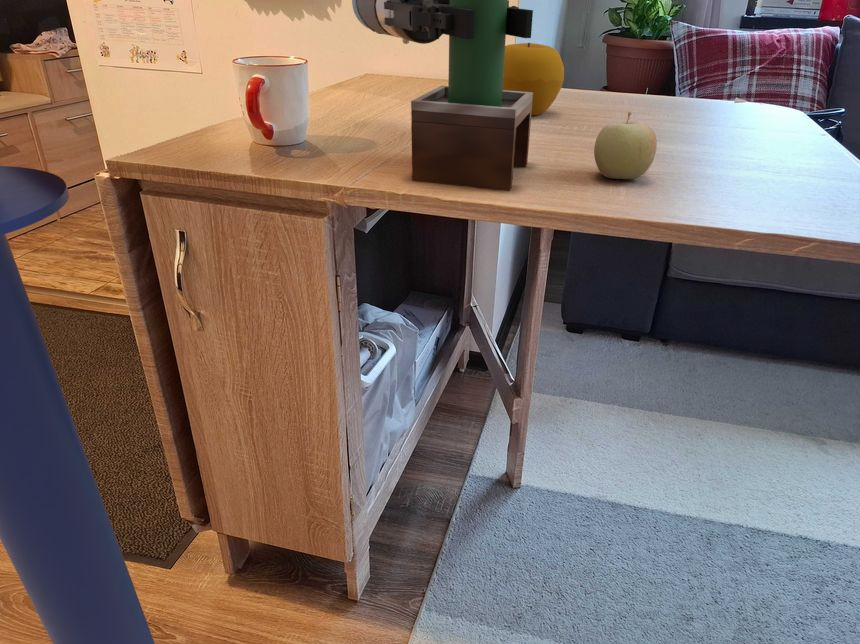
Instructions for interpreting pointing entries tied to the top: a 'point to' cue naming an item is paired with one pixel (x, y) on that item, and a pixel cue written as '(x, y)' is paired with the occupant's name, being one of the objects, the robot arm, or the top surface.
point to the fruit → (625, 149)
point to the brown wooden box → (469, 139)
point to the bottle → (479, 55)
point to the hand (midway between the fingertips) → (500, 24)
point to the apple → (533, 73)
